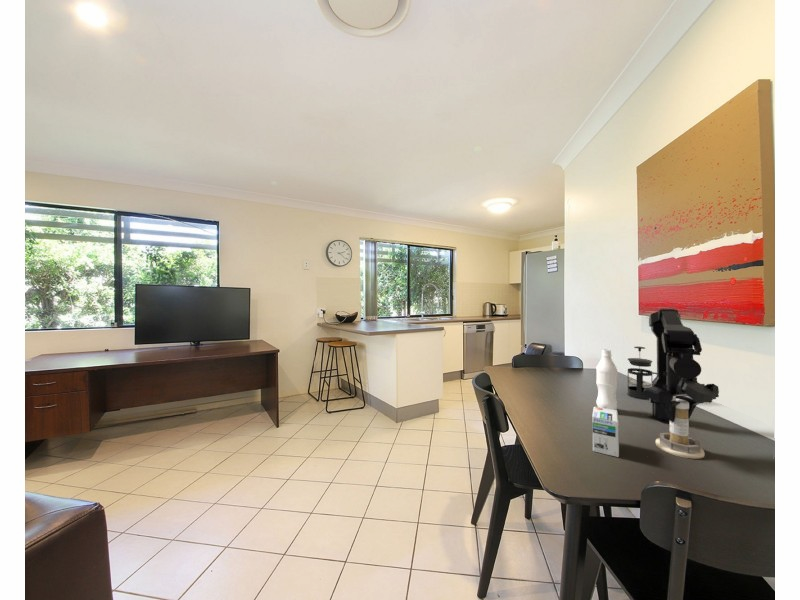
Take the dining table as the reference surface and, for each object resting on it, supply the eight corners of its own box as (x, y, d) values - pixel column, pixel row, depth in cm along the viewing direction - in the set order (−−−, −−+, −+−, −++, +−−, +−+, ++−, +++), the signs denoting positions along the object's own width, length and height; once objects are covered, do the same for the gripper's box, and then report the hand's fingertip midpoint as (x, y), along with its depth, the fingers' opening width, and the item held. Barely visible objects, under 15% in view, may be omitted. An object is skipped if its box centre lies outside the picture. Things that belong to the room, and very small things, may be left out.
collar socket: (646, 441, 98) (646, 432, 98) (677, 439, 99) (677, 430, 99) (681, 460, 87) (681, 449, 87) (715, 457, 88) (715, 447, 88)
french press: (624, 396, 140) (624, 347, 139) (626, 391, 147) (626, 344, 146) (657, 402, 132) (657, 349, 131) (658, 396, 139) (658, 346, 138)
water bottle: (610, 407, 127) (610, 348, 126) (621, 414, 120) (621, 351, 119) (592, 407, 128) (592, 348, 127) (602, 413, 120) (602, 351, 120)
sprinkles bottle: (670, 438, 96) (669, 396, 96) (689, 443, 93) (689, 400, 92) (668, 443, 93) (668, 400, 93) (688, 449, 89) (688, 404, 89)
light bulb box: (619, 458, 88) (619, 421, 88) (592, 451, 92) (591, 416, 92) (618, 443, 97) (618, 409, 97) (593, 437, 101) (593, 405, 101)
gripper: (678, 379, 83) (678, 435, 84) (737, 376, 85) (737, 430, 85) (642, 369, 94) (642, 418, 95) (695, 366, 96) (695, 415, 97)
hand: (679, 420), depth 93 cm, fingers closed on sprinkles bottle, 4 cm apart
